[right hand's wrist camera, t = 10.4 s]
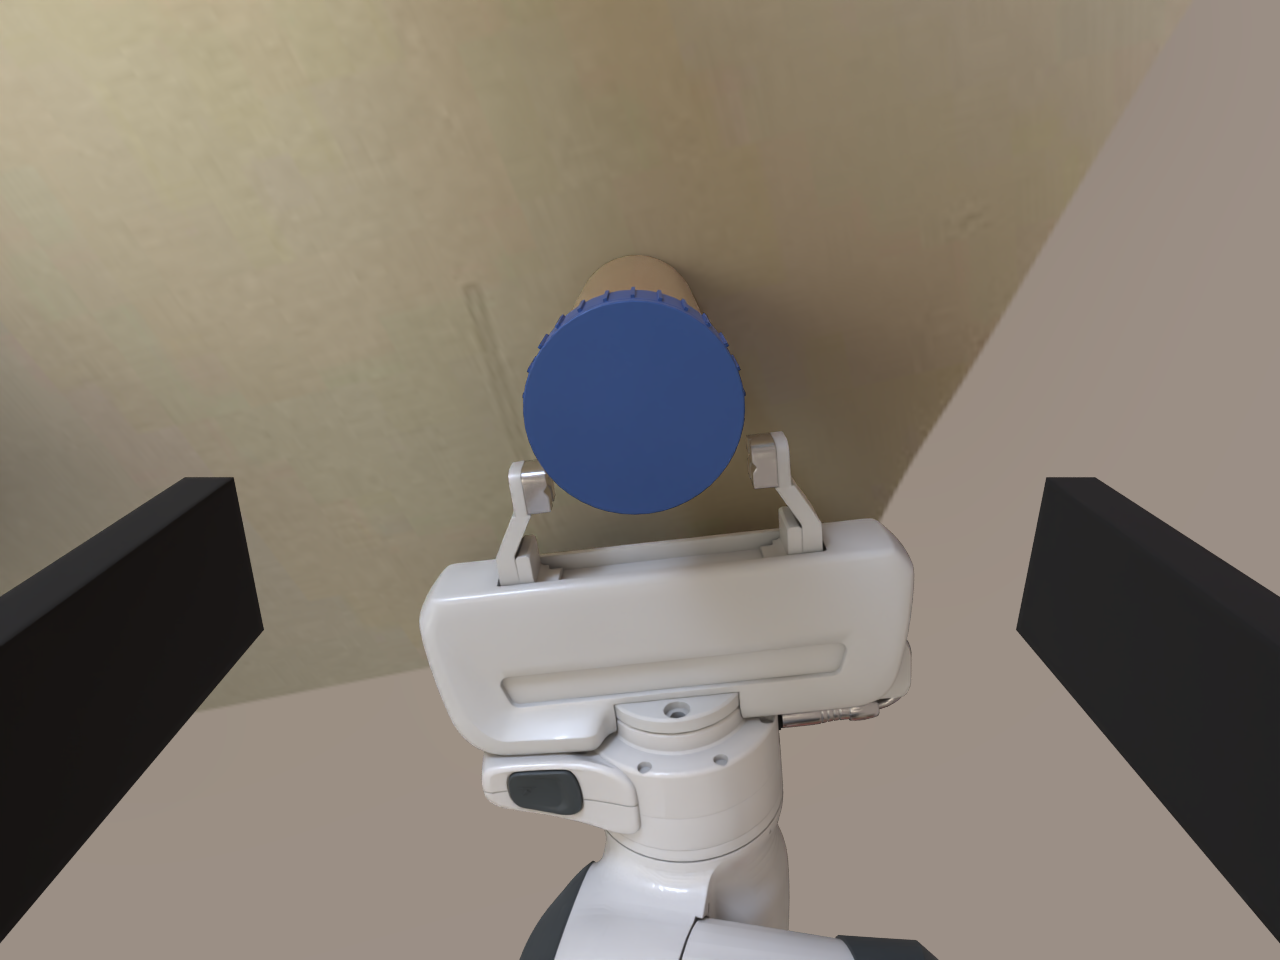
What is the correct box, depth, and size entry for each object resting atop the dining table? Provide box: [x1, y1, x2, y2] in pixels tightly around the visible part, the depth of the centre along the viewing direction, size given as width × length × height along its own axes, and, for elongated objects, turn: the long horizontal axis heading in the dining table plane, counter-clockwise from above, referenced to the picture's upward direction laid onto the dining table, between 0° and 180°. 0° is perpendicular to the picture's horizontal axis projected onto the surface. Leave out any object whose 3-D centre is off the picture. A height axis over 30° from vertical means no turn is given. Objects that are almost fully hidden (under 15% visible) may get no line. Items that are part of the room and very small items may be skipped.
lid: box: [523, 287, 746, 515], centre depth 21 cm, size 6×6×2 cm
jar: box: [571, 255, 702, 315], centre depth 28 cm, size 5×5×15 cm
